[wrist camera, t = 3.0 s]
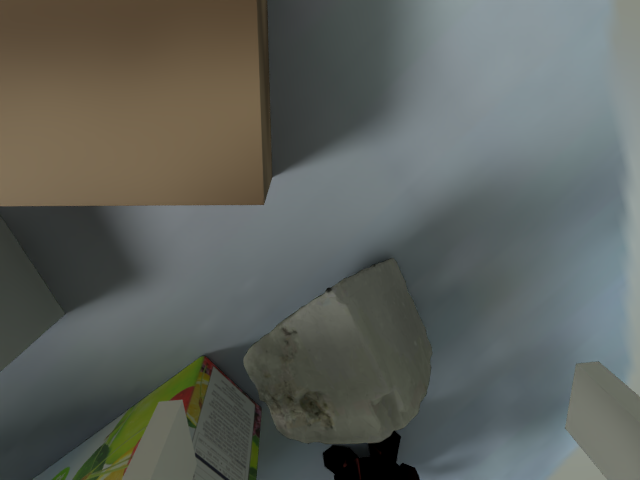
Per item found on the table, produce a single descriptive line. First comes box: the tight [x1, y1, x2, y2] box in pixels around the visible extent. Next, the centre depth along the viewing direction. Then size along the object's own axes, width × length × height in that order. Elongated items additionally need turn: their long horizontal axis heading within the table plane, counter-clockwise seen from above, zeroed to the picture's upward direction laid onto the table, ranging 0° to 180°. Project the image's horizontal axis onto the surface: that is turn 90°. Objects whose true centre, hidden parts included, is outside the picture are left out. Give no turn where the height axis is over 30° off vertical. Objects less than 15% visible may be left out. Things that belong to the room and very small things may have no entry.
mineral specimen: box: [243, 258, 432, 444], centre depth 17 cm, size 7×9×8 cm
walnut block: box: [0, 0, 272, 206], centre depth 14 cm, size 11×11×6 cm
